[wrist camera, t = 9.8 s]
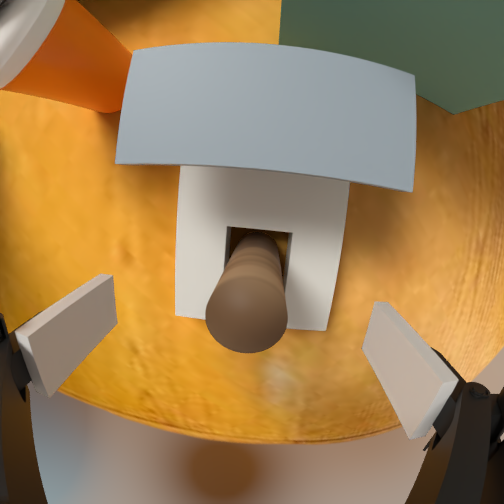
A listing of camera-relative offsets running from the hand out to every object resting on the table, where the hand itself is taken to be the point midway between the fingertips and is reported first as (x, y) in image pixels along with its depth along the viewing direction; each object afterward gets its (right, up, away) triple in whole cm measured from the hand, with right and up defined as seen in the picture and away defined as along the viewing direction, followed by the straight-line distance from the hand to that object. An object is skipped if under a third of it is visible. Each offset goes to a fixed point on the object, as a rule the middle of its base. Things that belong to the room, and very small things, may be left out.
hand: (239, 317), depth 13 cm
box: (+16, +32, +7) cm, 36 cm away
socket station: (+1, +7, +13) cm, 15 cm away
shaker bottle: (-14, +21, +11) cm, 28 cm away
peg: (+1, +3, +14) cm, 14 cm away
